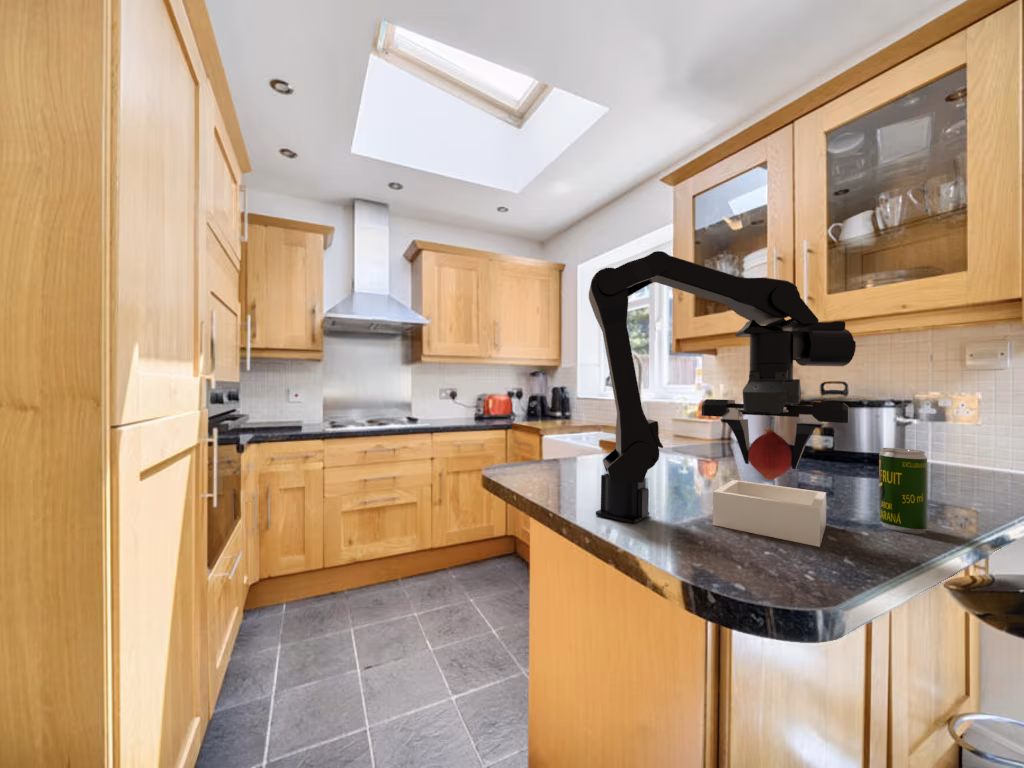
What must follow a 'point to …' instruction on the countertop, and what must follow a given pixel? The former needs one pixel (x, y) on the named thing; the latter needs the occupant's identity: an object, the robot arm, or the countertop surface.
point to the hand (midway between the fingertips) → (769, 466)
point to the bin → (771, 511)
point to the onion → (770, 455)
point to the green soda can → (903, 490)
